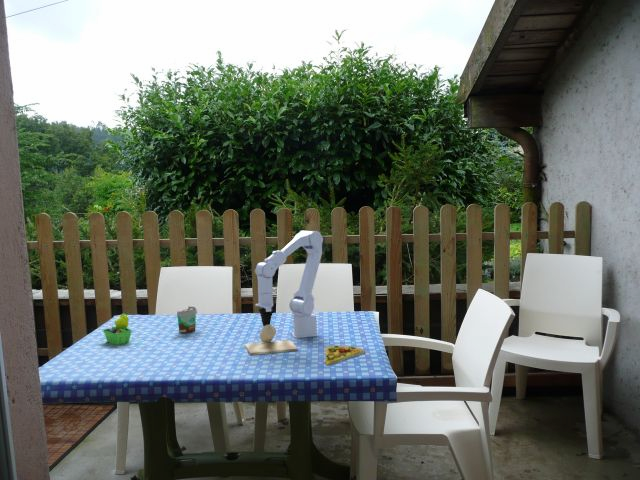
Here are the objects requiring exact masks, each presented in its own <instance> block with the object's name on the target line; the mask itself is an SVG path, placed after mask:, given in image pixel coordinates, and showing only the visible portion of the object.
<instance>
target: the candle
mask: <svg viewBox="0 0 640 480" xmlns="http://www.w3.org/2000/svg"><path fill="white" fill-rule="evenodd" d="M276 334H277V331H276V327H275V326H273V325H272V324H270V325H265V326H262V328H261V331H260V333H259V338H260V341H261V343H262V342H273V339H274V338H275V336H276Z"/></svg>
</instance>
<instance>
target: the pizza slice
mask: <svg viewBox="0 0 640 480" xmlns="http://www.w3.org/2000/svg"><path fill="white" fill-rule="evenodd" d="M363 354H366V351H365V349H364V348H360V347H356V346H351V345H350V346H349V345H328V346H326V347H325V363H326V366H330V365H333V364H336V363H338V362H342V361H344V360H345V361H346V360H348V359H351V358H354V357H357V356H360V355H363Z"/></svg>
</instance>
